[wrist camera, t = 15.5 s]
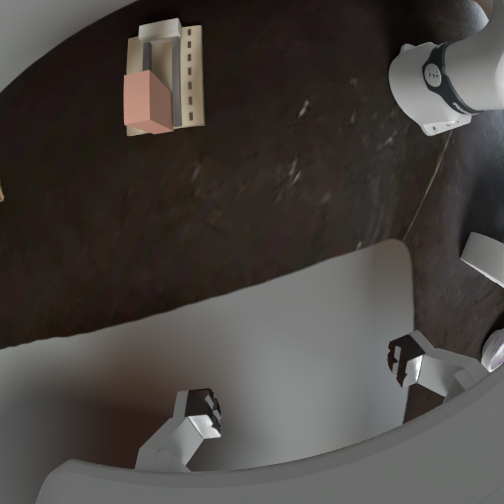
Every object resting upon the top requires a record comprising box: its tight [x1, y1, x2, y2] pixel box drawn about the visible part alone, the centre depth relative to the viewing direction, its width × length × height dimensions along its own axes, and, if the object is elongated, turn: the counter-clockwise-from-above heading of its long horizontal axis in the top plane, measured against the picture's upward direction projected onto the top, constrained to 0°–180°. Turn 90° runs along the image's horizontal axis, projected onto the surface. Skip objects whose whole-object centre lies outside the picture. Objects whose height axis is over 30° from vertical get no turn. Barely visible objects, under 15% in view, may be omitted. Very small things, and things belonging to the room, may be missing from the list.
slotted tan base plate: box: [127, 18, 205, 136], centre depth 32 cm, size 12×18×5 cm
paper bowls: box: [481, 328, 504, 372], centre depth 57 cm, size 15×15×8 cm
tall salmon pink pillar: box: [124, 70, 174, 134], centre depth 29 cm, size 3×6×12 cm, turn 3°
